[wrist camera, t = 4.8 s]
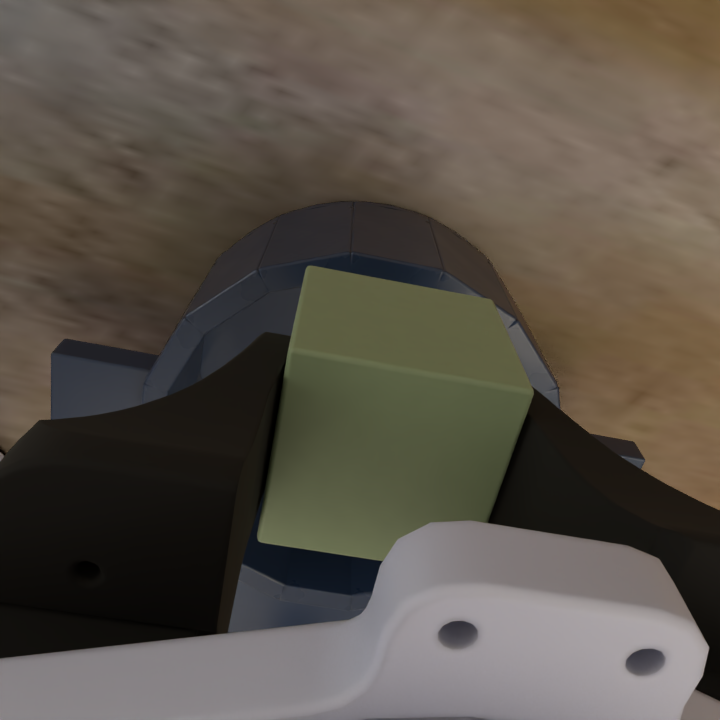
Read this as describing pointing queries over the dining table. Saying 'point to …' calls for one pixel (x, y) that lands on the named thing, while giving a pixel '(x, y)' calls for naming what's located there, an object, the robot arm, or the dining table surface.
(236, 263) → the pot
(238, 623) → the lid
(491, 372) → the block
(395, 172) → the dining table surface
